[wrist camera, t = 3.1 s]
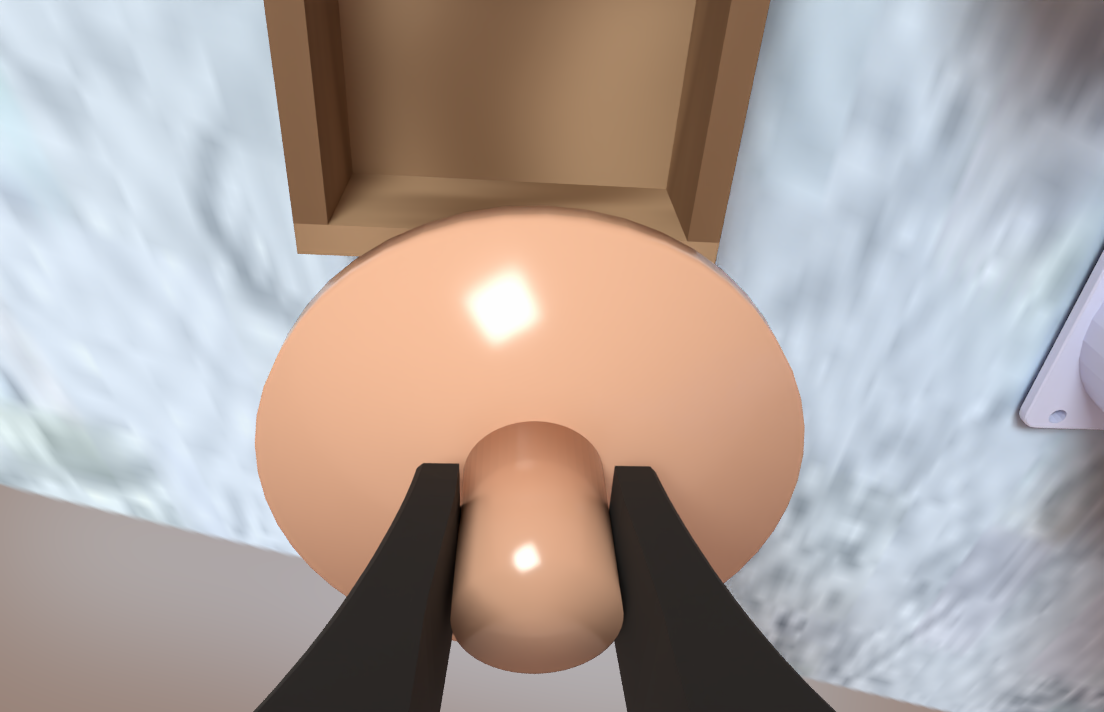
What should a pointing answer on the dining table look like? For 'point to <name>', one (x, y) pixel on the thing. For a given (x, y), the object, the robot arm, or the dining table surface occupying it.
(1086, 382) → the robot arm
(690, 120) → the wooden open tray
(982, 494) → the dining table surface
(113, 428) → the dining table surface
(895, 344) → the dining table surface
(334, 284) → the lid
